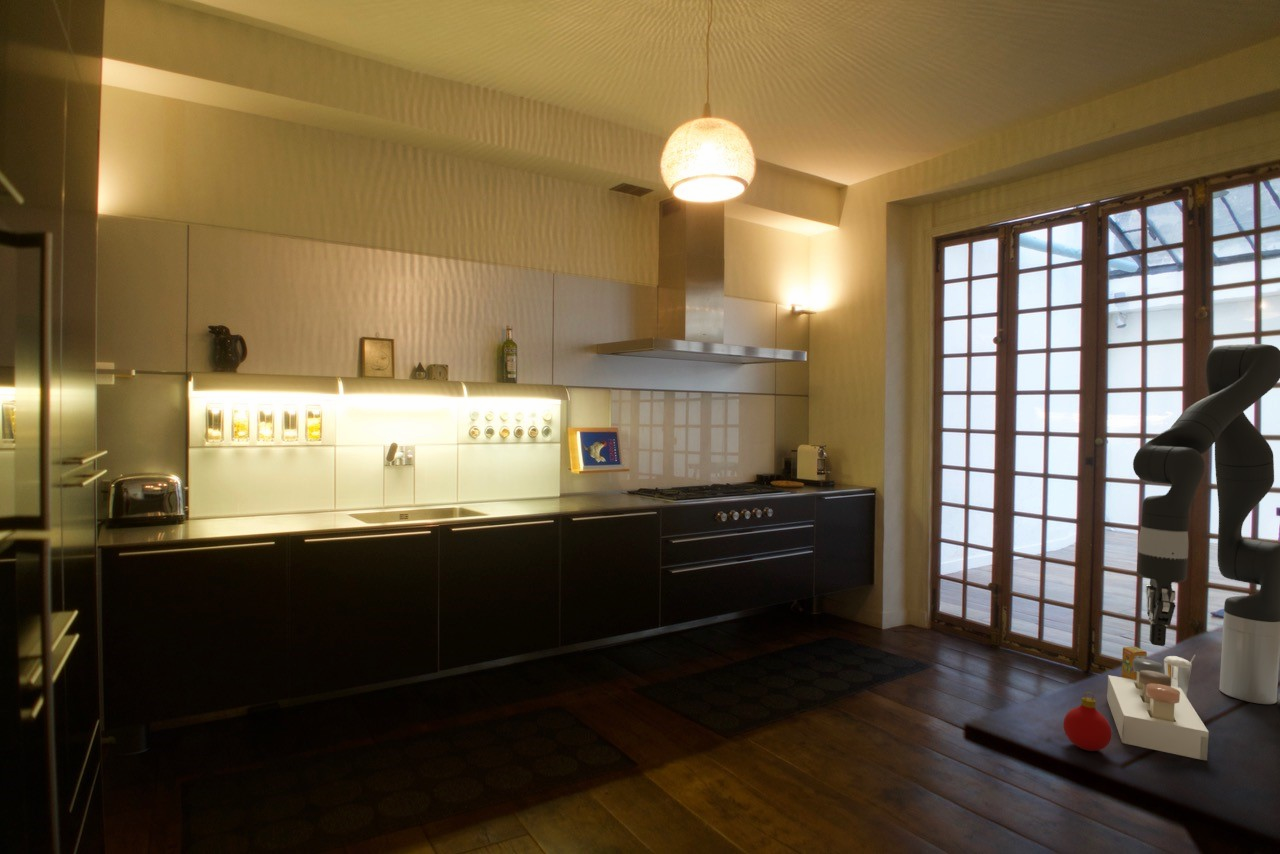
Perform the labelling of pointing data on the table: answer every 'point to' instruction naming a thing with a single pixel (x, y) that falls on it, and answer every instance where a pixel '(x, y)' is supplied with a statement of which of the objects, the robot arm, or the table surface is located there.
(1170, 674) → the milkshake
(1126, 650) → the supplement box
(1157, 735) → the knob console
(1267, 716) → the table surface
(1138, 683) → the charcoal knob
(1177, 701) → the terracotta knob
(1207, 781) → the table surface
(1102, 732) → the christmas ornament
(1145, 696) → the walnut knob
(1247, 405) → the robot arm
